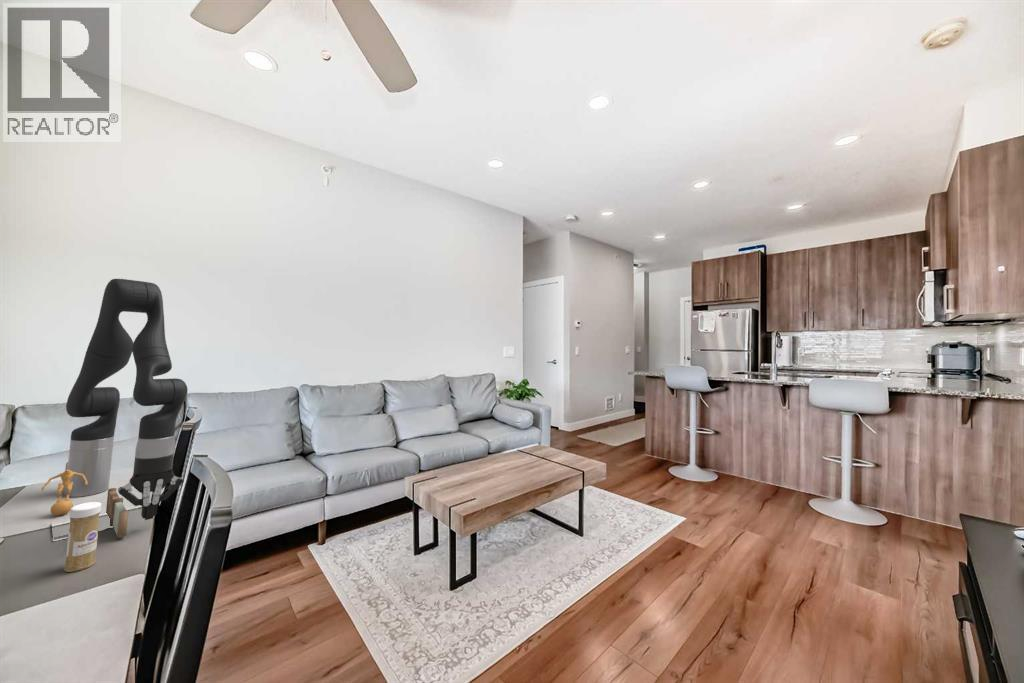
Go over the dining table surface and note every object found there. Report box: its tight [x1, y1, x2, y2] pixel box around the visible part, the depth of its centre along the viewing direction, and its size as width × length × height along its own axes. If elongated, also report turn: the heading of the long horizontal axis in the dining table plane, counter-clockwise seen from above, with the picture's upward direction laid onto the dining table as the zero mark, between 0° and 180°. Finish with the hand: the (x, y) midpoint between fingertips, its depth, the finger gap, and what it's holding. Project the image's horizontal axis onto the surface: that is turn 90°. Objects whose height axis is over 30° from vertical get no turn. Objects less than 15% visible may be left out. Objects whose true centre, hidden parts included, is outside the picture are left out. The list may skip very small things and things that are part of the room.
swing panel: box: [113, 502, 129, 539], centre depth 95 cm, size 9×2×6 cm, turn 53°
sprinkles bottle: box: [63, 501, 102, 573], centre depth 81 cm, size 5×5×14 cm
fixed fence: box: [105, 487, 124, 526], centre depth 102 cm, size 12×2×7 cm, turn 53°
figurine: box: [41, 470, 88, 516], centre depth 103 cm, size 8×6×12 cm
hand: (148, 518), depth 98 cm, fingers closed
